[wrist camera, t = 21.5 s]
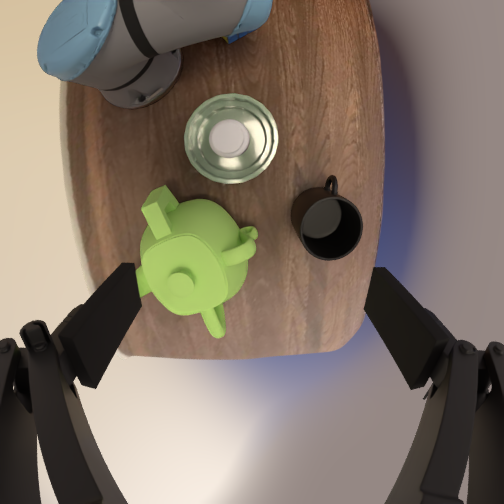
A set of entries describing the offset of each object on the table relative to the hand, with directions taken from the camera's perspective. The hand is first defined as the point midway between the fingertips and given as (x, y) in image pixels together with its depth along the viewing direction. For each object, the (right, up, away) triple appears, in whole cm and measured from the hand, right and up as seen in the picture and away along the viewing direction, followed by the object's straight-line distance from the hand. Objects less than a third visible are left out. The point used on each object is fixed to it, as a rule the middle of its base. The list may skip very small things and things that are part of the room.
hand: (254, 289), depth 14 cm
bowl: (-3, +20, +26) cm, 33 cm away
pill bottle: (-3, +19, +26) cm, 32 cm away
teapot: (-11, +2, +33) cm, 35 cm away
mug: (+11, +10, +31) cm, 34 cm away
